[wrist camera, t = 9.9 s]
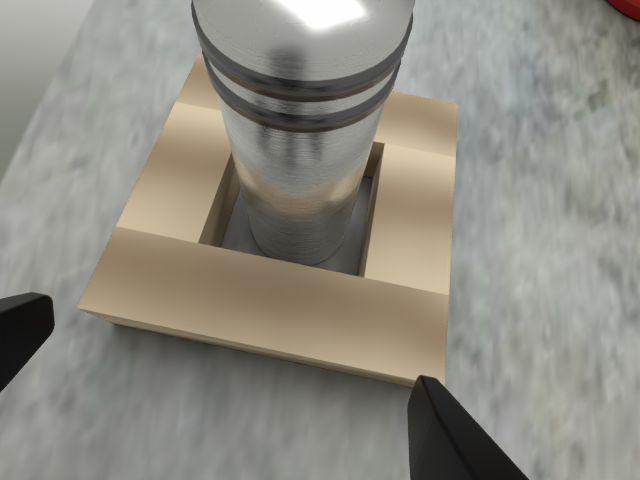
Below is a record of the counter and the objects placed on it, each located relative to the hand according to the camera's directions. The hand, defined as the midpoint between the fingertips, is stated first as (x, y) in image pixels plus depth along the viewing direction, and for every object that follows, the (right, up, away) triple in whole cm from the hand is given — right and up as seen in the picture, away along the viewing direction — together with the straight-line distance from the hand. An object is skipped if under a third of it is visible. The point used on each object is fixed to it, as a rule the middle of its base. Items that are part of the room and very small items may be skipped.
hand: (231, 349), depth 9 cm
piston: (+1, +4, +10) cm, 11 cm away
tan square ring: (+1, +4, +10) cm, 11 cm away
